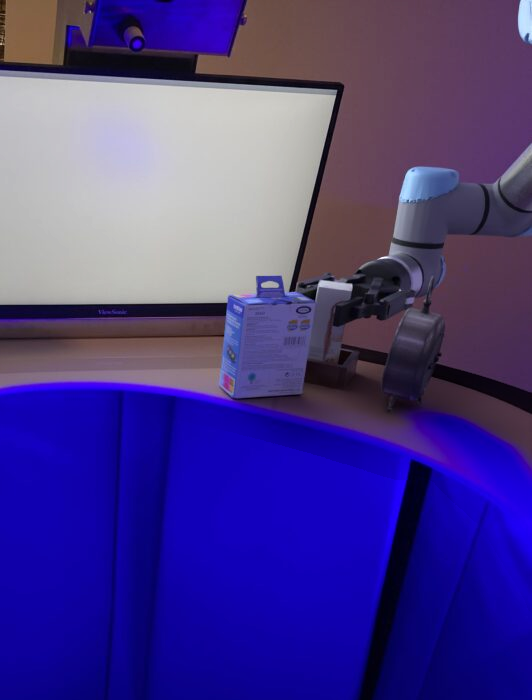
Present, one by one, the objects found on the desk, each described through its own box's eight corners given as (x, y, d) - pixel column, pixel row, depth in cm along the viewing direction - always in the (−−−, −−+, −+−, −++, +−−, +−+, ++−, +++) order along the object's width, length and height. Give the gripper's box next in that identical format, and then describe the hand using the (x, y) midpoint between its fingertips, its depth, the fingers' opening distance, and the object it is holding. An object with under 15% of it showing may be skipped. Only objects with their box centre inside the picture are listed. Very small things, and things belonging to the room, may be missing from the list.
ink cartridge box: (283, 380, 113) (300, 272, 107) (304, 395, 108) (323, 283, 102) (215, 384, 110) (228, 274, 104) (233, 400, 105) (249, 285, 99)
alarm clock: (392, 387, 112) (418, 265, 105) (434, 396, 110) (464, 272, 103) (372, 412, 104) (399, 281, 97) (418, 423, 101) (449, 289, 94)
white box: (338, 366, 112) (352, 291, 108) (304, 361, 113) (316, 286, 109) (339, 355, 116) (353, 282, 112) (307, 350, 117) (319, 278, 113)
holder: (355, 372, 117) (359, 351, 116) (343, 389, 111) (347, 367, 109) (297, 360, 121) (300, 340, 119) (281, 377, 114) (284, 355, 113)
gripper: (444, 322, 120) (378, 356, 104) (322, 296, 131) (245, 323, 115) (456, 269, 117) (390, 296, 101) (330, 247, 128) (253, 268, 112)
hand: (313, 310), depth 108 cm, fingers closed on white box, 6 cm apart
